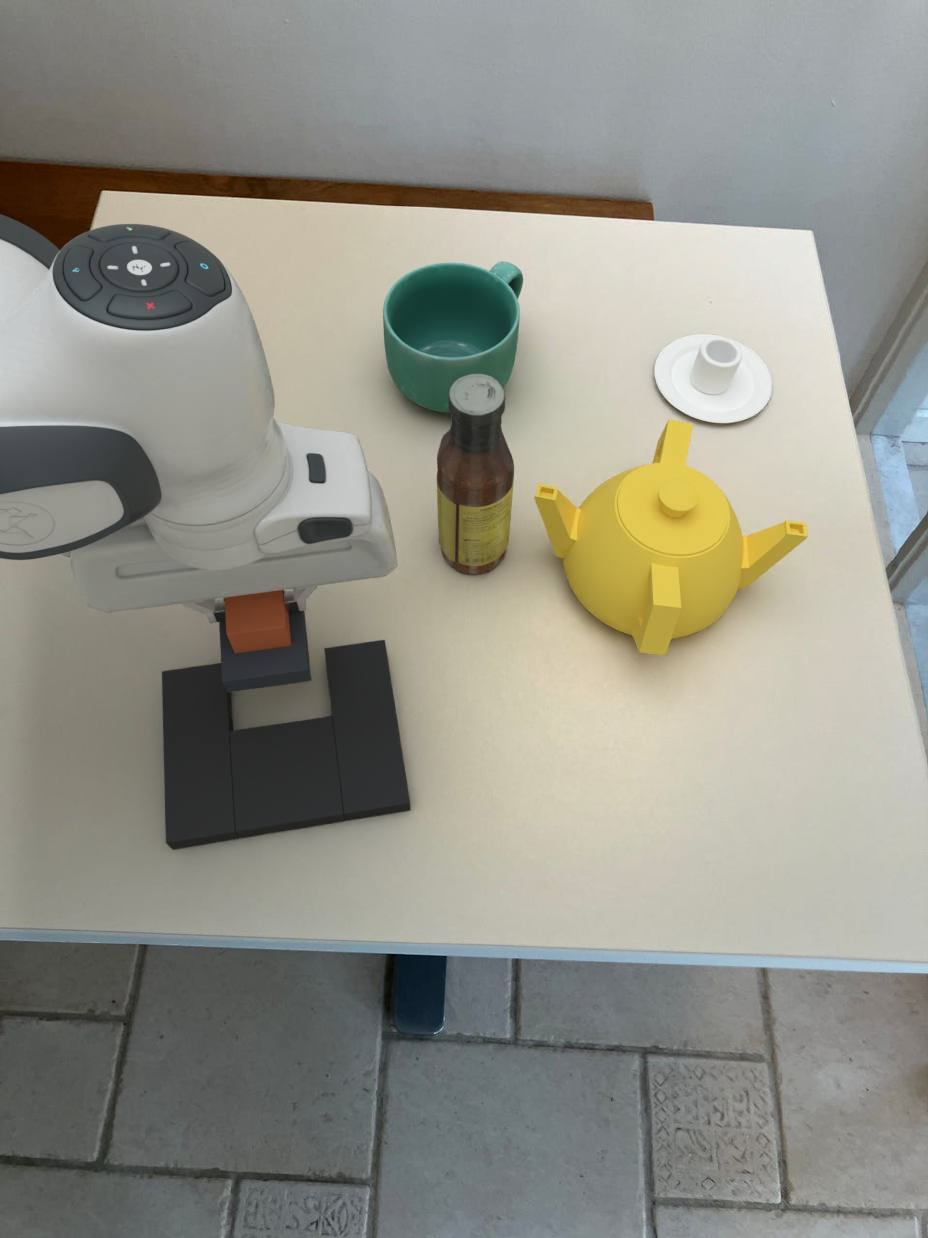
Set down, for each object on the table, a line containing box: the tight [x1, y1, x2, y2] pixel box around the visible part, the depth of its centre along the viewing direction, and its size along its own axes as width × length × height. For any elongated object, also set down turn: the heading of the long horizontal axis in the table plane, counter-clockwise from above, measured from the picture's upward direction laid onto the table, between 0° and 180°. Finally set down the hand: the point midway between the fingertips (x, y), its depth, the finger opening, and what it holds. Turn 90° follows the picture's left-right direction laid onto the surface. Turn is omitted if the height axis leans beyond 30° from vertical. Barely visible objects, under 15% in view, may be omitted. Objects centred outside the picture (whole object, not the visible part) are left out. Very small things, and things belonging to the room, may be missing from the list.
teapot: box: [534, 418, 809, 656], centre depth 74 cm, size 17×17×12 cm
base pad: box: [161, 639, 411, 850], centre depth 70 cm, size 18×14×2 cm
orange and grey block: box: [218, 590, 312, 693], centre depth 64 cm, size 6×10×5 cm, turn 10°
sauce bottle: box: [436, 374, 515, 575], centre depth 71 cm, size 7×6×20 cm
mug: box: [382, 260, 524, 414], centre depth 86 cm, size 17×13×10 cm
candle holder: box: [653, 333, 773, 424], centre depth 89 cm, size 12×12×4 cm
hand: (259, 608), depth 64 cm, fingers closed on orange and grey block, 4 cm apart
